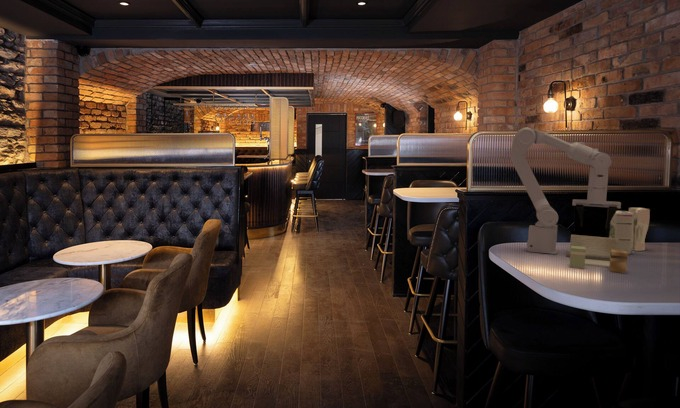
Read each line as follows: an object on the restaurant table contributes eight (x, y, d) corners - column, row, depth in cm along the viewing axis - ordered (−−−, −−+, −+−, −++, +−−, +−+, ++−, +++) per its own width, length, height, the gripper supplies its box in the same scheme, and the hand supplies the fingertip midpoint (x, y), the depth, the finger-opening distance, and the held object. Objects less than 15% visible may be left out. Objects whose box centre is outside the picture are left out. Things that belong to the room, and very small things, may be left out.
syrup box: (631, 254, 174) (634, 213, 172) (612, 253, 175) (616, 212, 174) (625, 251, 180) (628, 210, 178) (607, 250, 181) (610, 210, 179)
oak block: (610, 271, 150) (611, 252, 149) (609, 268, 153) (610, 249, 153) (625, 273, 148) (627, 253, 147) (624, 270, 152) (626, 250, 151)
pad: (576, 264, 158) (576, 262, 158) (576, 259, 165) (576, 258, 165) (612, 267, 154) (612, 266, 154) (610, 263, 161) (610, 261, 161)
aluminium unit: (566, 256, 169) (567, 236, 168) (566, 253, 173) (567, 233, 172) (620, 262, 162) (622, 240, 161) (619, 259, 167) (621, 238, 166)
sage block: (569, 267, 154) (571, 248, 153) (569, 264, 158) (571, 245, 157) (584, 268, 152) (586, 249, 152) (584, 266, 156) (585, 247, 155)
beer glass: (634, 246, 188) (638, 207, 186) (651, 250, 181) (655, 209, 179) (619, 247, 186) (623, 207, 184) (636, 251, 179) (640, 210, 177)
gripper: (574, 187, 169) (570, 227, 170) (623, 190, 163) (619, 231, 164) (573, 186, 175) (570, 224, 177) (621, 188, 169) (617, 228, 171)
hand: (594, 227), depth 171 cm, fingers open, 7 cm apart
